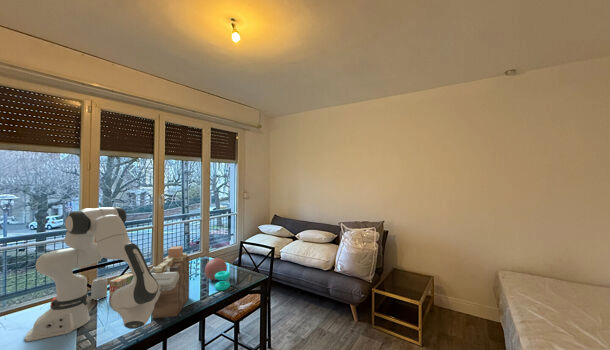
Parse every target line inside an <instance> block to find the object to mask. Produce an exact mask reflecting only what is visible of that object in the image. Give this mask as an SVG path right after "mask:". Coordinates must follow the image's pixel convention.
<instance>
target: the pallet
mask: <svg viewBox="0 0 610 350" xmlns="http://www.w3.org/2000/svg"><path fill="white" fill-rule="evenodd" d="M187 256H188V253H187V252H183V255H181V256H180V257H169V258H168V255H166V256H165V257H164V258H163V259H162V262H163V263H162V262H160V263H161V264H160V263H159V264H160V265H159V264H158V265H159V266H158V265H156V266H157V267H156V266H155V267H156V268H155V273H163V272H164V271H165V270H166V267H167V266H171V265H172V264H174V263H175V262H182V261H183V260H184V259H185V258H186V257H187Z"/></svg>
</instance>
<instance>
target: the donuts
mask: <svg viewBox="0 0 610 350" xmlns="http://www.w3.org/2000/svg"><path fill="white" fill-rule="evenodd" d="M230 276H231V272H230V271H228V270H227V271H221V272H218V273H216V274H215V278H216V279H217V280H216V281H218V282H216V283H215V284H214V290H216V291H227V289H229V288H230V287H231V283H230V282H229V281H228V280H227V279H228V278H230Z"/></svg>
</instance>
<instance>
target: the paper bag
mask: <svg viewBox="0 0 610 350" xmlns="http://www.w3.org/2000/svg"><path fill="white" fill-rule="evenodd" d="M161 263H163V261H162V262H160V263H159V264H158V265H156V266H155V267H157V266H159V265H160V264H161ZM165 272H167V271H166V270H165V271H164V272H163V273H165ZM170 272H178V273H179V279H178V281H177V284H176V287H175V288H173V289H171V290H165V291H161V293H160V296H159V298H158V300H157V302H156V303H155V307H154V310H153V312H152V318H153V319H156V318H169V317H178V315H179V313H180V312H181V311H182V310H183V308H184V306H185V305H186V303H187V302H188V301H189V298H190V255H187V257H186V258H185V259H184V260H183V261H182V262H175V263H174V264H172V265H171V266H170ZM153 273H155V272H153Z"/></svg>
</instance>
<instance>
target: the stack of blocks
mask: <svg viewBox="0 0 610 350" xmlns="http://www.w3.org/2000/svg"><path fill="white" fill-rule="evenodd" d="M133 277H134V276H133V274H132V273H128V272H127V273H125V274H123V275H120V276H118V277H116V278H113V279H111V280H109V285H108V288H109V289H108V290H109V292H108V293H109V294H108V295H109V296H108V297H109V298H108V299H109V300H110V299H111V296H112V294H113V293H114V292H115V291H116V290H118V289H120V288H122V287H124V286H126V285H129V284H131V281H132V279H133ZM109 300H108V301H109Z"/></svg>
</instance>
